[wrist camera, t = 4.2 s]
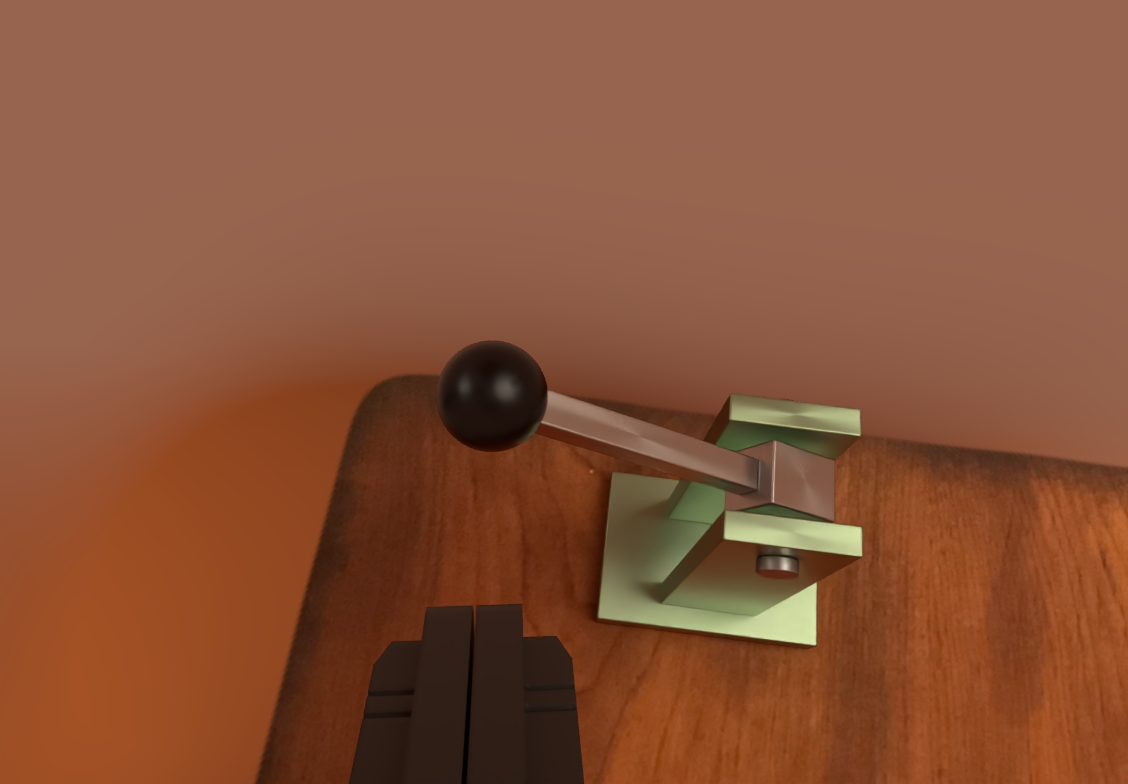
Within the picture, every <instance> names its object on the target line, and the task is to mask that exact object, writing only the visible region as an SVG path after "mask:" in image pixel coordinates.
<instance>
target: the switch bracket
mask: <svg viewBox="0 0 1128 784" xmlns="http://www.w3.org/2000/svg"><path fill="white" fill-rule="evenodd" d="M860 437H861V410H860V409H853V408H845V407H837V406H829V405H821V404H813V403H806V402H798V401H793V400H789V399H774V398H766V397H758V396H750V395H742V394H734V393H731V394H730V396H729V398H728V399H727V401H726V402H725V404H724V406H723V408H722V409H721V411H720V413H719V414H718V416H717V418H716V419H715V421H714V423H713V424H712V426H711V428H710V430H709V431H708V433H707V435H706V436H705V438H704V440H703V441H705V442H708V443H711V444H714V445H717V446H720V447H723V448H726V449H729V450H732V451H735V452H736V451H739V450H743V449H746V448H749V447H752V446H755V445H758V444H761V443H764V442H767V441H771V440H778V441H781V442H783V443H786V444H789V445H792V446H795V447H798V448H801V449H804V450H807V451H809V452H812V453H815V454H818V455H821V456H824V457H827V458H830V459H832V460H834V461H835V460H836V459H837V458H838V457H839V456H840V455H841V454H842V453H844V452H845V451H846V450H847V449H848V448H849V447H850V446H851V445H852V444H853V443H855V442H856V441H857V440H858V439H859V438H860ZM724 509H725V491H723V490H720V489H716V488H713V487H710V486H707V485H703V484H700V483H697V482H693V481H690V480H687V479H684V478H681V479H680V480H677V479H669V478H661V477H653V476H646V475H638V474H630V473H622V472H612V474H611V477H610V481H609V491H608V501H607V511H606V520H605V530H604V540H603V550H602V559H601V569H600V579H599V589H598V598H597V608H596V618H595V621H596V622H599V623H607V624H615V625H623V626H631V627H638V628H646V629H654V630H662V631H670V632H678V633H686V634H694V635H701V636H709V637H717V638H725V639H733V640H741V641H749V642H757V643H764V644H772V645H780V646H788V647H796V648H804V649H810V648H813V647H816V646H817V582H818V581H820V580H822V579H824V578H826V577H827V576H829V575H831V574H833V573H835V572H836V571H838V570H840V569H842V568H844V567H845V566H847V565H849V564H851V563H853V562H854V561H856V560H858V559H860V558H862V556H863V550H862V527H861V526H854V525H846V524H838V523H830V522H822V521H814V520H806V519H799V518H791V517H783V516H775V515H767V514H759V513H751V512H743V511H735V510H727V509H725V510H724Z"/></svg>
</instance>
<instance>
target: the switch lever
mask: <svg viewBox="0 0 1128 784" xmlns="http://www.w3.org/2000/svg"><path fill="white" fill-rule="evenodd" d="M436 403H437V408H438V412H439V415H440V418H441V420H442V422H443V424H444V426H445V427H446V428H447V430H448V431H449V432H450V433H451V435H452V436H453V437H455V438H456V439H457V440H458V441H459V442H461V443H462V444H464V445H466V446H468V447H470V448H473V449H476V450H480V451H484V452H499V451H504V450H508V449H511V448H514V447H516V446H518V445H520V444H521V443H523V442H525V441H526V440H527V439H528V438H530V437H531V435H532V434H533V433H535V434H538V435H542V436H545V437H548V438H552V439H555V440H558V441H562V442H565V443H568V444H571V445H575V446H578V447H581V448H585V449H588V450H591V451H595V452H598V453H601V454H604V455H608V456H611V457H614V458H618V459H621V460H624V461H627V462H631V463H634V464H637V465H641V466H644V467H647V468H651V469H654V470H657V471H660V472H664V473H667V474H670V475H674V476H677V477H680V478H684V479H687V480H690V481H693V482H697V483H700V484H703V485H707V486H710V487H713V488H716V489H720V490H723V491H725V509H727V510H735V511H743V512H751V513H759V514H767V515H775V516H783V517H791V518H799V519H806V520H814V521H822V522H830V523H831V522H834V521H835V461H834V460H832V459H830V458H827V457H824V456H821V455H818V454H815V453H812V452H809V451H807V450H804V449H801V448H798V447H795V446H792V445H789V444H786V443H783V442H781V441H778V440H771V441H767V442H764V443H761V444H758V445H755V446H752V447H749V448H746V449H743V450H739V451H736V452H735V451H732V450H729V449H726V448H723V447H720V446H717V445H714V444H711V443H708V442H705V441H701V440H698V439H695V438H692V437H689V436H686V435H683V434H680V433H677V432H674V431H671V430H668V429H665V428H662V427H659V426H656V425H653V424H650V423H647V422H644V421H641V420H638V419H635V418H632V417H629V416H626V415H623V414H620V413H617V412H614V411H611V410H608V409H605V408H602V407H599V406H596V405H592V404H589V403H586V402H583V401H580V400H577V399H574V398H571V397H568V396H565V395H562V394H559V393H556V392H553V391H550V390H547V384H546V381H545V377H544V375H543V372H542V371H541V369H540V367H539V366H538V364H537V363H536V362H535V360H534V359H533V358H532V357H531V356H530V355H529V354H528V353H527V352H525V351H524V350H523V349H521V348H519V347H517V346H515V345H512V344H510V343H506V342H502V341H481V342H478V343H474V344H471V345H469V346H467V347H465V348H463V349H462V350H460V351H459V352H457V353H456V354H455V355H454V356H453V357H452V358H451V359H450V360H449V361H448V363H447V364H446V365H445V367H444V369H443V371H442V372H441V375H440V377H439V380H438V384H437V390H436ZM725 509H724V510H725Z"/></svg>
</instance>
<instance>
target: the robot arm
mask: <svg viewBox="0 0 1128 784" xmlns="http://www.w3.org/2000/svg"><path fill="white" fill-rule="evenodd" d="M349 784H584V778H583V768H582V757H581V747H580V736H579V726H578V716H577V707H576V695H575V687H574V674H573V664H572V658H571V656H570V655H569V653H568V652H567V650H566V649H565V648H564V646H563V645H562V643H561V642H560V641H559V639H558V638H557V636H543V637H523V618H522V604H506V605H477V608H476V624H475V625H474V608H473V606H445V607H427V608H426V613H425V620H424V628H423V635H422V641H393V642H391V644H390V645H389V646H388V647H387V649H386V650H385V651H384V653H383V654H382V655H381V656H380V658H379V659H378V660H377V661H376V663H375V664H374V666H373V671H372V675H371V680H370V685H369V690H368V697H367V700H366V704H365V709H364V718H363V719H362V724H361V728H360V733H359V738H358V743H357V748H356V753H355V757H354V762H353V767H352V772H351V777H350V781H349Z"/></svg>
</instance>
